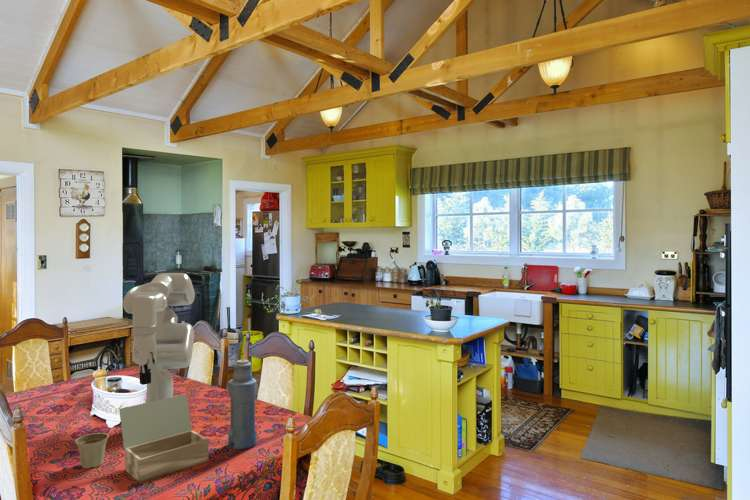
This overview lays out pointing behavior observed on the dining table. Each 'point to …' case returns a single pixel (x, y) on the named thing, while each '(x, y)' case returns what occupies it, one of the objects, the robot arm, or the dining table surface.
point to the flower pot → (92, 449)
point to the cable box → (166, 455)
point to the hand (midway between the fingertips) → (145, 383)
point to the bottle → (242, 407)
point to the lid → (154, 420)
